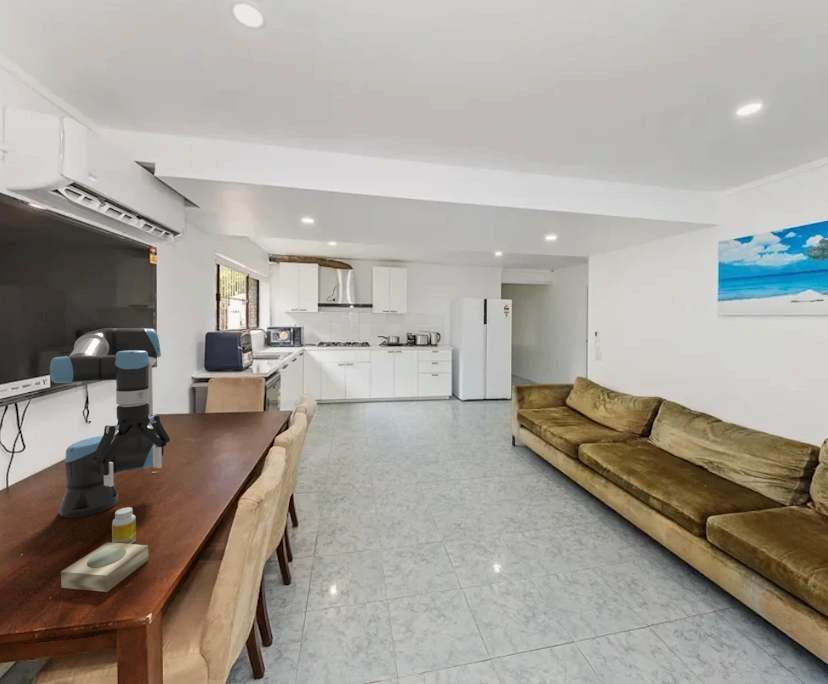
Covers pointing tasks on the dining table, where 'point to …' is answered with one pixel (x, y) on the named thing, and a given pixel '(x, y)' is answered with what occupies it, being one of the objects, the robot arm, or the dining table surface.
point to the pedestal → (104, 567)
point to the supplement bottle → (124, 526)
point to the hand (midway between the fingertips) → (134, 476)
